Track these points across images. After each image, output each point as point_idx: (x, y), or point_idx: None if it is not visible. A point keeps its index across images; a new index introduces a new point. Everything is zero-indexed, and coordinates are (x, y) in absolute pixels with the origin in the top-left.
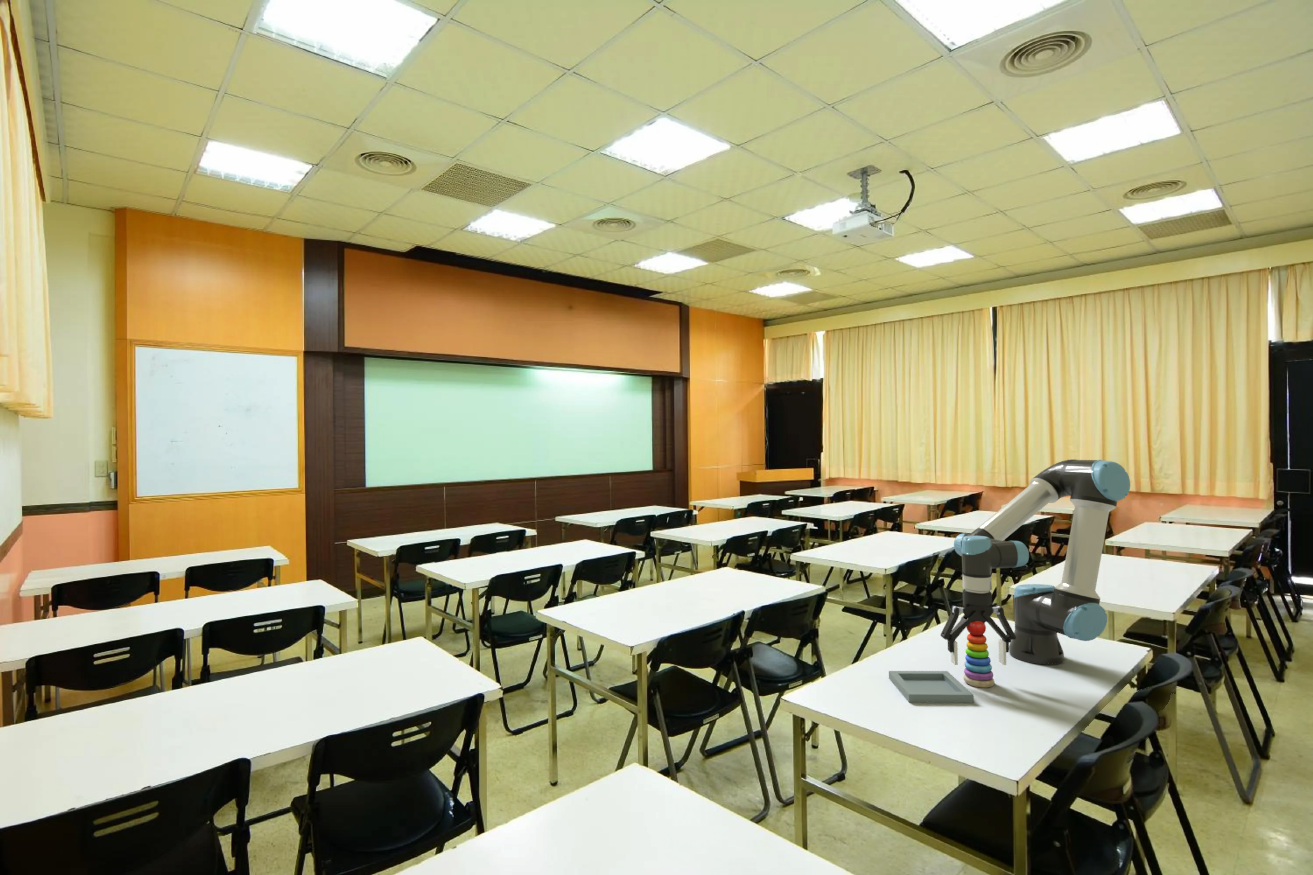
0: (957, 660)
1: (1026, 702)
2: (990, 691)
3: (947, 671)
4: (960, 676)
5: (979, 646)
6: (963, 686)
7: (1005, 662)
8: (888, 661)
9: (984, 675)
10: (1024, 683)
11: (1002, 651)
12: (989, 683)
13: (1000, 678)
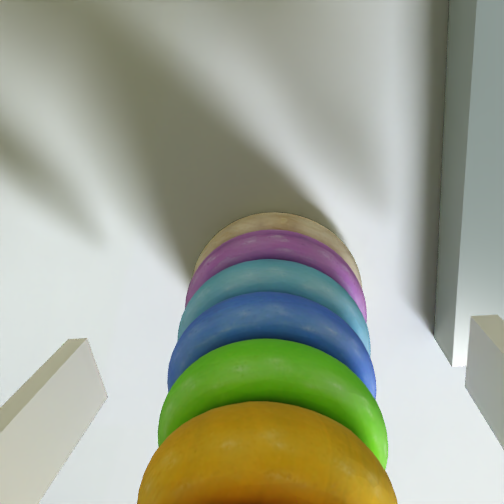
0: (491, 340)
1: (75, 4)
2: (249, 167)
3: (453, 359)
4: None
5: (268, 453)
6: (478, 82)
7: (62, 350)
8: None
9: (260, 241)
10: (45, 301)
11: (20, 433)
12: (235, 224)
13: (145, 353)
